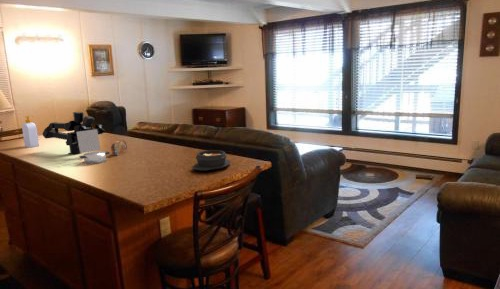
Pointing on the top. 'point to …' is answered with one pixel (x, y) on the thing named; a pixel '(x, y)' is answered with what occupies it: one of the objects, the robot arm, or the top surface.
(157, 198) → the top surface
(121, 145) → the tin
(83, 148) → the lid
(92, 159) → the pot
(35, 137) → the soap bottle
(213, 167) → the casserole
